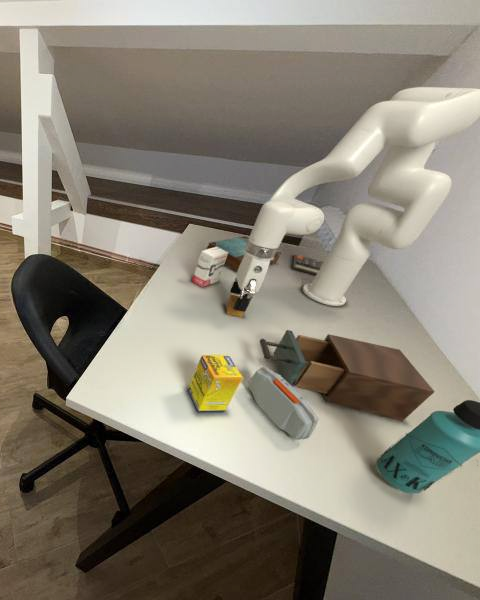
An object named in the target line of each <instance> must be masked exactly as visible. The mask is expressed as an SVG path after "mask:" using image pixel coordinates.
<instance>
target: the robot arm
mask: <svg viewBox="0 0 480 600" xmlns="http://www.w3.org/2000/svg"><path fill="white" fill-rule="evenodd" d="M479 118H480V88H470V87H440V86H439V87H437V86H435V87H434V86H418V87H409V88H404V89H401V90H399V91H397V92H396V93H395V94H393V96H391V98H390V99H389V100H383V101H380V102H377V103H375V104H373V105H372V106H370V107H369V108H368V109H367V110H366V111H365V112H363V114H362V115H361V116H360V117H359V119H358V120H357V121H356V122H355V123H354V124H353V126H352V127H351V128H350V129H349V130H348V131H347V132H346V133H345V135H344V136H343V137H342V138H341V139H340V140H339V142H338V143H337V144H336V145H335V146H334V147H333V148H332V150H330V152H329V154H327V155H326V156H325V157H324V158H323V159H321V160H319V161H317V162H314V163H313V164H310V165H308V166H307V167H304V168H302V169H300V170H299V171H298V172H295V173H294V174H292V175H291V176H290V177H288V178H287V179H286V180H285V181H284V182H282V184H281V185H280V186H279V187H278V188H277V190H276V191H275V192H274V193H273V194H272V195H271V196H270V198H269V199H268V200H267V201H266V202H265V203H264V204H262V206H261V207H260V210H259V212H258V214H257V217H256V219H255V222H254V225H253V226H252V229H251V232H250V234H249V236H248V238H249V239H248V241H247V244H246V246H245V248H244V252H245V255H244V257H243V259H242V262H241V264H240V266H239V268H238V271H237V272H236V274H235V276H236V277H235V278H234V281H233V283H232V286H231V288H230V290H229V292H230V294H233V295H237V296H240V297H238V299H237V301H236V303H235V306H234V310H238V311H242V312H244V313H246V311H247V310H248V307H249V305H250V303H251V301H252V299H253V297H254V296H255V295H256V294H258V293H259V291H260V290H261V287H262V285H263V282H264V280H265V278H266V275H267V272H268V271H269V267H270V265H271V264H270V260H272V259H273V258H274V256H275V254H276V252H278V250H279V247H280V245H281V244H282V242H283V239H284V237H285V235H286V234H290V235H295V236H307V235H311V234H313V233H316V231H318V230H319V229H320V228H321V227H322V226H323V224H324V221H325V215H324V211H322V209H321V208H319V207H318V206H316V205H313V204H310V203H307V202H305V201H302V200H299V199H296V198H297V197H298V196H299V195H300V194H301V193H303V192H304V191H306V190H307V189H310V188H312V187H315V186H318V185H322V184H327V183H328V184H329V183H334V182H341V181H347V180H352V179H355V178H357V177H358V176H359V175H360V174H362V172H363V171H364V170H365V169H366V168H367V167H368V166H369V165H370V163H372V161H373V160H374V159H375V158H376V157H377V156H378V155H379V154H380V153H381V152H382V151H383V150H384V149H385V148H386V146H388V149H387V151H386V153H385V155H384V157H383V159H382V160H381V162H380V164H379V166H378V168H377V170H376V172H375V173H374V175H373V178H372V180H371V181H370V184H369V186H368V189H367V193H368V195H369V196H370V197H371V198H373V199H374V200H378V201H381V202H384V203H388V204H390V205H394V206H398V207H402V208H404V210H403V211H401V210H398V209H395V208H392V207H389V206H387V205H386V206H385V205H382V204H379V203H375V202H360V203H358V204H356V205H354V206H352V207H351V208H350V209H349V210H348V212H347V213H346V214H345V217H344V219H343V221H342V225H341V228H340V231H339V233H338V236H337V237H336V239H335V242H334V243H333V244H332V247H331V248H330V250H329V252H328V254H327V255H326V258H325V259H324V261H323V262H324V263H323V264H322V266H321V268H320V269H319V271H318V273H317V275H314V276H315V277H313V280H312V281H311V283H306V284H305V285H303V287H302V292H303V294H305V295H306V296H307V298H309V299H311V300H313V301H315V302H317V303H319V304H324V305H327V306H331V307H340V306H344V305H345V304H346V302H347V299H346V297H345V294H346V292H347V291H348V289H349V288H350V286H351V284H352V283H353V281H354V280H355V278H356V277H357V275H358V274H359V272H360V271H361V269H362V268H363V266H364V265H365V263H366V261H367V260H368V259H369V257H370V255H371V252H372V243H375V244H378V245H380V246H382V247H386V248H389V249H393V250H403V249H406V248H408V247H409V246H411V245H412V244H413V243H415V241H416V240H417V239H418V238H419V236H420V235H421V234H422V233H423V232H424V230H425V229H426V227H427V226H428V224H430V221H431V220H432V219H433V218H434V216H435V215H436V213H437V211H438V210H439V208H440V207H441V206H442V204H443V203H444V201H445V200H446V198H447V196H448V195H449V193H450V191H451V188H452V184H453V183H452V178H451V177H450V176H449V175H448V174H446V173H444V172H441V171H436V170H432V169H428V168H427V169H426V168H425V165H426V163H427V161H428V160H429V158H430V156H431V154H432V153H433V151H434V149H435V148H436V147H435V146H436V142H438V141H441V140H443V139H445V138H449V137H451V136H455V135H456V134H459V133H461V132H463V131H464V130H466V129H468V128H469V127H470V126H471V125H473V124H474V123H475V122H476V121H477V120H478V119H479ZM269 264H270V265H269Z"/></svg>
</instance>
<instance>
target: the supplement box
mask: <svg viewBox="0 0 480 600" xmlns="http://www.w3.org/2000/svg"><path fill="white" fill-rule="evenodd" d="M232 359H233V358H231V356H230V355H229V354H202V355H201V356H200V359H199V361H198V364H197V365H196V368H195V371H194V374H193V376H192V378H191V381H190V383H189V385H188V388H187V392H188V394H189V395H190V397H191V400H192V403H193V405H194V407H195V410H196V412H197V413H198V414H204V413H205V414H209V413H210V414H211V413H212V414H213V413H225V412H226V410H227V408H228V407H229V404H230V402H231V401H232V399H233V397H234V395H235V394H236V392H237V390H238V388H239V387H240V384H241V383H242V380H244V376H243V375H242V373H241V372H240V371H239V370H238V368H237V366H236V365H235V362H234V361H233V360H232Z"/></svg>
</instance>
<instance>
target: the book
mask: <svg viewBox="0 0 480 600" xmlns="http://www.w3.org/2000/svg"><path fill="white" fill-rule="evenodd" d="M248 239H249V236H246V235H245V236H238V237H233V238H227V239H222V240H216V241H211V242H208V245H207V246H206V249H210V248H214V247H219V248H221V249H222V250H224V251H226V252H228V255H227V258H226V261H225V263H224V266H225V267H227V268H229V269H230V270H233V271H235V272H236V273H237V271H238V268H239V266H240V264H241V262H242V259H243V257H244V255H245V252H244V248H245V246H246V244H247V241H248ZM281 254H282V252H281V251H277V252H276V254H275V256H274V258H273V259H272V260H270V264H269V266H270V265H273V264H276V263H277V262H278V261H279V259H280V257H281Z"/></svg>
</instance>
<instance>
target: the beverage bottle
mask: <svg viewBox="0 0 480 600" xmlns="http://www.w3.org/2000/svg"><path fill="white" fill-rule="evenodd" d="M452 409H453V411H447V410H434V411H433V412H431V413H430V415H429V416H427V418H425V419H424V420H422V421H421V422H420V423H419V424H418V425H417V426H415V427H414V428H413V429H412V430H411V431H409V432H407V433H405V435H403V436H402V437H400V438H399V439H397V441H395V443H393V444H391V446H389V447H388V448H387V449H386V450H384V452H382V453H381V455H379V457H377V459H376V462H375V463H376V464H375V466H376V469H377V471H378V473H379V474H380V475H381V477H383V479H384V480H385V481H386V482H388V484H390V485H391V486H393V487H394V488H396V489H398V490H399V491H401V492H403V493H407V494H410V495H411V494H412V495H413V494H420V493H422V492H426V491H427V490H428V489H430V488H431V487H432V486H435V485H436V484H438V483H439V481H441V480H443V479H444V478H446V477H447V476H448V475H449V474H453V472H454V471H455V470H456V469H458V468H462V466H463V464H465V463H466V462H468V461H469V460H471V459H472V458H473V457H475V456H476V455H477V454H479V453H480V401H476V400H473V399H466V400H463V401H462V402H460V403H459V404H457V405H455V406H454V407H453V408H452Z"/></svg>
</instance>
